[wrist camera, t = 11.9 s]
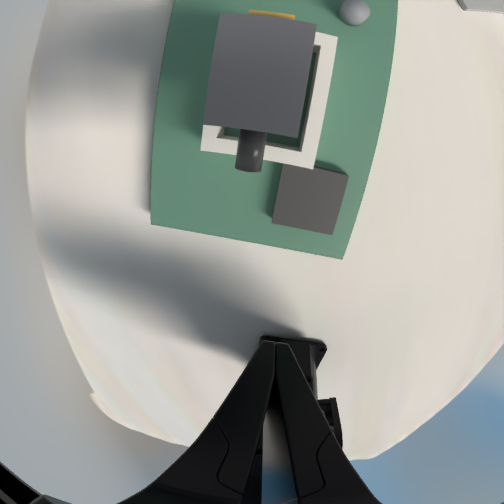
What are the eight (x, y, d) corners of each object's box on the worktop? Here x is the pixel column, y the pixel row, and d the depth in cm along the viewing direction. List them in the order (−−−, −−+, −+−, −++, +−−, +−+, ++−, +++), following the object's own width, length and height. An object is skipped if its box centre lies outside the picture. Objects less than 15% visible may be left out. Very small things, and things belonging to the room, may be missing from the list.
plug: (285, 152, 16) (288, 186, 9) (236, 144, 16) (198, 171, 9) (301, 56, 12) (319, 9, 5) (250, 49, 12) (223, -1, 6)
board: (339, 251, 20) (347, 275, 17) (157, 218, 20) (138, 236, 17) (392, -1, 10) (409, -16, 7) (191, -31, 10) (176, -49, 7)
